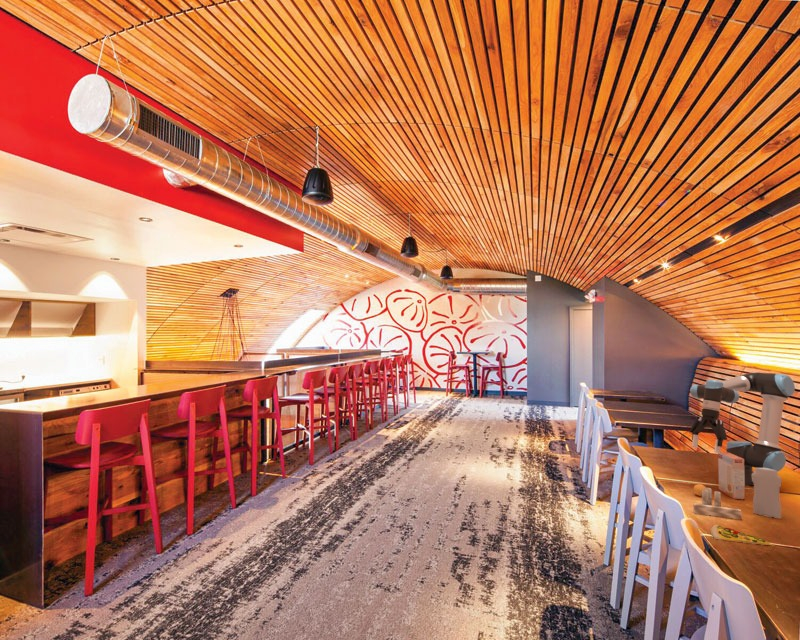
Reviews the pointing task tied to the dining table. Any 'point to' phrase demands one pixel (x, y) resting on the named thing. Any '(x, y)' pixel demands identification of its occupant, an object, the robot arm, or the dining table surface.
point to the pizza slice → (735, 536)
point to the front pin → (709, 496)
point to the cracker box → (731, 475)
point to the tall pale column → (766, 492)
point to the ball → (699, 489)
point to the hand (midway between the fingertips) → (705, 449)
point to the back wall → (717, 511)
